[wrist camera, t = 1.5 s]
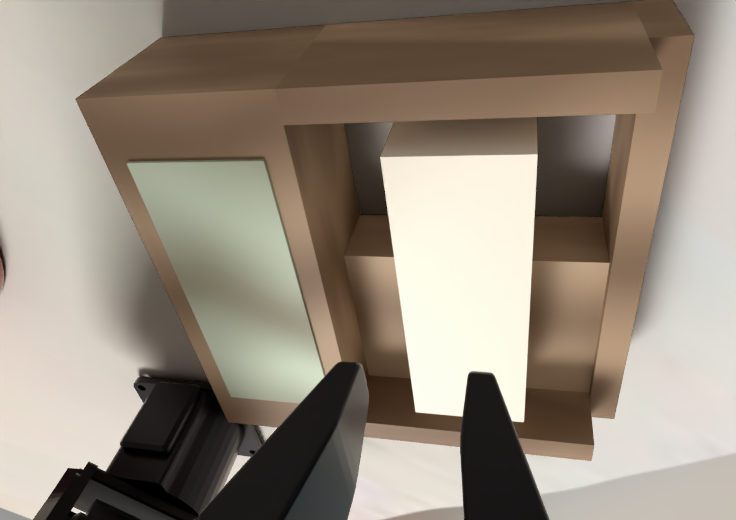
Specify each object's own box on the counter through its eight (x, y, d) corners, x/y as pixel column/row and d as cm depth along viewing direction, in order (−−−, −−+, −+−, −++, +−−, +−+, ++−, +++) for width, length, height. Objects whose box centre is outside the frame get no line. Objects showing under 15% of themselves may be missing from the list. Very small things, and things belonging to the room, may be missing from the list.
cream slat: (524, 371, 23) (524, 422, 21) (424, 364, 24) (415, 412, 22) (536, 112, 16) (537, 154, 14) (396, 116, 17) (380, 157, 15)
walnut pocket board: (606, 361, 25) (620, 466, 21) (266, 338, 29) (227, 424, 25) (671, -3, 16) (716, 69, 12) (160, 37, 20) (73, 100, 16)
